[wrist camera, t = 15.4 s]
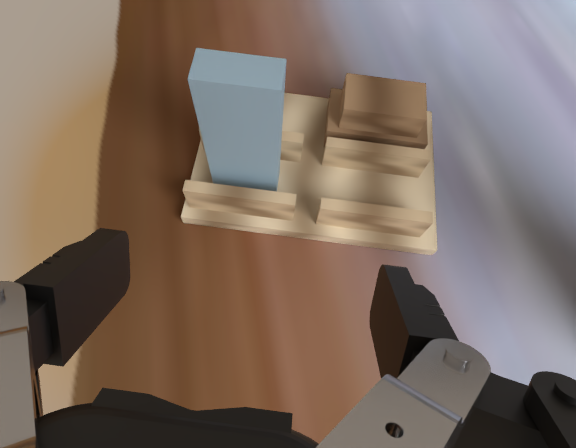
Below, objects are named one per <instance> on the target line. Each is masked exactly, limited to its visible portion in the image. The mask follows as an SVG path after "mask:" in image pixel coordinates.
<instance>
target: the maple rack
mask: <svg viewBox="0 0 576 448" xmlns="http://www.w3.org/2000/svg"><path fill="white" fill-rule="evenodd" d="M328 101H329V98H322V97H314V96H306V95H299V94H291V93H284V108H283V124H282V140H281V157H280V173H279V180H278V187H277V192H276V191H268V190H260V189H253V188H245V187H237V186H230V185H222V184H215V183H213V181H212V176H211V172H210V168H209V164H208V160H207V156H206V152H205V148H204V144H203V140H202V136H201V132H200V128H199V133H200V137H201V141H200V145H199V148H198V152H197V156H196V160H195V164H194V168H193V172H192V176H191V180H185V183H184V187H183V190H182V191H183V193H184V196H185V198H186V199H185V203H184V207H183V211H182V214H181V218H182V221H183V223H189V224H196V225H204V226H212V227H219V228H227V229H235V230H242V231H250V232H258V233H265V234H273V235H281V236H288V237H296V238H304V239H311V240H319V241H327V242H334V243H342V244H350V245H357V246H365V247H372V248H380V249H388V250H395V251H403V252H411V253H418V254H426V255H433V254H434V253H435V252H436V251H437V234H436V210H435V185H434V160H433V136H432V112H429V111H427V134H428V145H427V146H426V148H425V149H418V148H411V147H403V146H395V145H388V144H380V143H372V142H365V141H357V140H349V139H342V138H334V137H327V139H326V144H325V148H324V147H323V146H324V136H325V126H326V116H327V106H328Z"/></svg>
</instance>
